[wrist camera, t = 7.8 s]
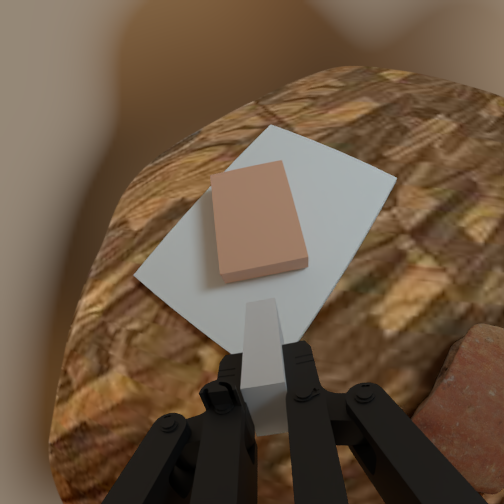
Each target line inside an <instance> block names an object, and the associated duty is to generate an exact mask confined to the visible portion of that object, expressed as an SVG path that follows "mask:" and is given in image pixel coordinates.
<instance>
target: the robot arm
mask: <svg viewBox="0 0 504 504" xmlns="http://www.w3.org/2000/svg"><path fill="white" fill-rule="evenodd" d="M199 395H200V397H201V399H202V402H203V404H204V406H205V408H206V411H205V412H204V413H202V414H200V415H198V416H195V417H191V418H188V419H185V417H184V416H182V415H181V414H178V413H169V414H166V415H163V416H161V417H160V418H158V419H157V420H156V421H155V422H154V424H153V425H152V427H151V428H150V430H149V432H148V433H147V435H146V436H145V438H144V439H143V441H142V442H141V444H140V445H139V447H138V448H137V450H136V451H135V453H134V455H133V456H132V458H131V459H130V461H129V462H128V464H127V465H126V467H125V468H124V470H123V471H122V473H121V474H120V476H119V477H118V479H117V481H116V482H115V484H114V485H113V487H112V488H111V490H110V491H109V493H108V494H107V496H106V497H105V499H104V500H103V502H102V503H101V504H257V444H256V441H255V432H256V435H257V436H265V435H272V434H279V433H285V432H289V443H290V454H291V465H292V477H293V489H294V501H295V504H348V499H347V494H346V490H345V485H344V480H343V475H342V471H341V466H340V462H339V457H338V453H337V448H336V445H348V447H349V448H350V450H351V452H352V453H353V455H354V456H355V458H356V459H357V461H358V462H359V464H360V465H361V467H362V468H363V470H364V472H365V473H366V475H367V476H368V478H369V479H370V481H371V482H372V484H373V485H374V487H375V488H376V490H377V491H378V493H379V494H380V496H381V497H382V499H383V500H384V502H385V503H386V504H488V503H487V502H486V501H485V500H484V499H483V498H482V496H481V495H480V494H479V493H478V492H477V491H476V490H475V489H474V488H473V487H472V486H471V484H470V483H469V482H468V481H467V480H466V479H465V478H464V477H463V476H462V475H461V474H460V472H459V471H458V470H457V469H456V468H455V467H454V466H453V465H452V464H451V463H450V462H449V460H448V459H447V458H446V457H445V456H444V455H443V454H442V453H441V452H440V451H439V450H438V448H437V447H436V446H435V445H434V444H433V443H432V442H431V441H430V440H429V439H428V438H427V436H426V435H425V434H424V433H423V432H422V431H421V430H420V429H419V428H418V427H417V426H416V424H415V423H414V422H413V421H412V420H411V419H410V418H409V417H408V416H407V415H406V414H405V413H404V411H403V410H402V409H401V408H400V407H399V406H398V405H397V404H396V403H395V402H394V401H393V400H392V398H391V397H390V396H389V395H388V394H387V393H386V392H385V391H384V390H383V389H382V388H381V387H380V386H378V385H377V384H374V383H360V384H357V385H355V386H353V387H352V388H350V389H349V391H348V392H347V393H332V392H329V391H327V390H325V389H324V388H323V387H322V386H321V384H320V382H319V378H318V374H317V370H316V366H315V362H314V358H313V354H312V350H311V346H310V345H309V344H308V343H306V342H305V341H299V342H294V343H289V344H284V338H283V333H282V328H281V324H280V319H279V314H278V310H277V305H276V300H275V297H274V298H269V299H264V300H259V301H254V302H248V303H246V313H245V328H244V342H243V352H242V353H236V354H230V355H225V357H224V358H223V359H222V361H221V362H220V365H219V372H218V378H217V380H215V381H212V382H210V383H208V384H206V385H205V386H204V387H203V388H202V389H201V390H200V392H199Z"/></svg>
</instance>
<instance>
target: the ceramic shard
mask: <svg viewBox="0 0 504 504" xmlns="http://www.w3.org/2000/svg"><path fill="white" fill-rule="evenodd" d="M411 420H412V421H413V422H414V423H415V424H416V426H417V427H418V428H419V429H420V430H421V431H422V432H423V433H424V434H425V435H426V436H427V438H428V439H429V440H430V441H431V442H432V443H433V444H434V445H435V446H436V447H437V448H438V450H439V451H440V452H441V453H442V454H443V455H444V456H445V457H446V458H447V459H448V460H449V462H450V463H451V464H452V465H453V466H454V467H455V468H456V469H457V470H458V471H459V472H460V474H461V475H462V476H463V477H464V478H465V479H466V480H467V481H468V482H469V483H470V484H471V486H472V487H473V488H474V489H475V490H476V491H477V492H482V493H487V494H496V493H498V492H499V491H501V490H502V489H503V488H504V329H503V328H500V327H497V326H491V325H488V324H476V325H474V326H472V327H471V328H470V329H469V330H468V332H467V333H466V335H465V336H464V337H463V338H461V339H459V340H457V341H456V342H455V343H454V344H453V345H452V346H451V348H450V350H449V352H448V355H447V357H446V359H445V361H444V364H443V366H442V368H441V370H440V373H439V375H438V377H437V378H436V382H435V385H434V387H433V389H432V391H431V393H430V394H429V396H428V397H427V398H426V399H425V400H423V402H422V403H421V404H420V405H419V406H418V408H417V410H416V411H415V412H414V414H413V416H412V417H411Z"/></svg>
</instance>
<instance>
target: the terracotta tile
mask: <svg viewBox="0 0 504 504" xmlns="http://www.w3.org/2000/svg"><path fill="white" fill-rule="evenodd" d="M210 178H211V190H212V201H213V211H214V222H215V232H216V242H217V251H218V261H219V270H220V275H221V277H222V279H223V280H224V282H225V283H231V282H236V281H242V280H247V279H252V278H257V277H262V276H267V275H272V274H277V273H282V272H287V271H292V270H297V269H302V268H306V267H308V253H307V249H306V245H305V241H304V237H303V234H302V230H301V226H300V222H299V219H298V215H297V211H296V208H295V204H294V200H293V197H292V193H291V190H290V186H289V183H288V179H287V176H286V172H285V169H284V165H283V162H282V160H279V161H274V162H269V163H264V164H259V165H254V166H249V167H245V168H240V169H235V170H231V171H226V172H222V173H218V174H213V175H210Z"/></svg>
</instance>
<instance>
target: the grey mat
mask: <svg viewBox="0 0 504 504" xmlns="http://www.w3.org/2000/svg"><path fill="white" fill-rule="evenodd" d="M279 160H282V162H283V165H284V169H285V172H286V176H287V179H288V183H289V186H290V190H291V193H292V197H293V200H294V204H295V208H296V211H297V215H298V219H299V222H300V226H301V230H302V234H303V237H304V241H305V245H306V249H307V253H308V267H306V268H302V269H297V270H292V271H287V272H282V273H277V274H272V275H267V276H262V277H257V278H252V279H247V280H242V281H236V282H231V283H225V282H224V280H223V279H222V277H221V275H220V270H219V261H218V251H217V242H216V232H215V222H214V211H213V201H212V190H211V186H210V188H209V189H208V190H207V191H206V192H205V193H204V194H203V195H202V196H201V197H200V198H199V200H198V201H197V202H196V203H195V204H194V205H193V206H192V207H191V208H190V210H189V211H188V212H187V213H186V214H185V215H184V216H183V217H182V219H181V220H180V221H179V222H178V223H177V224H176V225H175V226H174V228H173V229H172V230H171V231H170V232H169V233H168V235H167V236H166V237H165V238H164V239H163V240H162V242H161V243H160V244H159V245H158V246H157V247H156V249H155V250H154V251H153V252H152V253H151V255H150V256H149V257H148V258H147V259H146V261H145V262H144V263H143V264H142V265H141V267H140V268H139V269H138V270H137V271H136V273H135V274H134V276H135V277H136V278H137V279H138V280H139V281H140V282H142V283H143V284H144V285H145V286H146V287H147V288H149V289H150V290H151V291H152V292H153V293H155V294H156V295H157V296H158V297H159V298H160V299H162V300H163V301H164V302H165V303H166V304H168V305H169V306H170V307H171V308H173V309H174V310H175V311H176V312H178V313H179V314H180V315H181V316H182V317H184V318H185V319H186V320H188V321H189V322H190V323H191V324H193V325H194V326H195V327H196V328H198V329H199V330H200V331H202V332H203V333H204V334H205V335H207V336H208V337H209V338H211V339H212V340H213V341H215V342H216V343H217V344H219V345H220V346H221V347H223V348H224V349H225V350H227V351H228V352H229V353H231V354H236V353H242V352H243V342H244V328H245V313H246V303H248V302H254V301H259V300H264V299H269V298H274V297H275V300H276V305H277V310H278V314H279V319H280V324H281V328H282V333H283V338H284V344H289V343H294V342H298V341H299V340H300V339H301V337H302V336H303V334H304V333H305V331H306V330H307V328H308V327H309V325H310V324H311V323H312V321H313V320H314V318H315V317H316V315H317V314H318V312H319V311H320V309H321V308H322V306H323V304H324V303H325V301H326V300H327V298H328V297H329V295H330V294H331V292H332V291H333V289H334V287H335V286H336V284H337V283H338V281H339V280H340V278H341V276H342V275H343V273H344V272H345V270H346V268H347V267H348V265H349V263H350V262H351V260H352V259H353V257H354V255H355V254H356V252H357V250H358V249H359V247H360V245H361V243H362V242H363V240H364V238H365V237H366V235H367V233H368V231H369V230H370V228H371V226H372V225H373V223H374V221H375V219H376V217H377V216H378V214H379V212H380V210H381V209H382V207H383V205H384V203H385V201H386V199H387V198H388V196H389V194H390V192H391V190H392V188H393V186H394V185H395V183H396V180H397V178H396V177H394V176H392V175H390V174H388V173H386V172H384V171H382V170H379V169H377V168H375V167H373V166H371V165H369V164H367V163H365V162H362V161H360V160H358V159H356V158H353V157H351V156H349V155H347V154H344V153H342V152H340V151H337V150H335V149H333V148H330V147H328V146H325V145H323V144H321V143H318V142H316V141H313V140H311V139H308V138H306V137H303V136H300V135H298V134H295V133H292V132H290V131H287V130H284V129H282V128H279V127H276V126H273V125H270V126H269V127H268V128H267V129H266V130H265V131H264V132H263V133H262V134H261V135H260V136H259V137H258V138H257V139H256V140H255V141H254V142H253V143H252V144H251V145H250V146H249V147H248V148H247V149H246V150H245V151H244V152H243V153H242V154H241V155H240V156H239V157H238V158H237V159H236V160H235V161H234V162H233V163H232V164H231V165H230V166H229V167H228V168H227V169H226V170H225V172H226V171H231V170H235V169H240V168H245V167H249V166H254V165H259V164H264V163H269V162H274V161H279Z"/></svg>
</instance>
